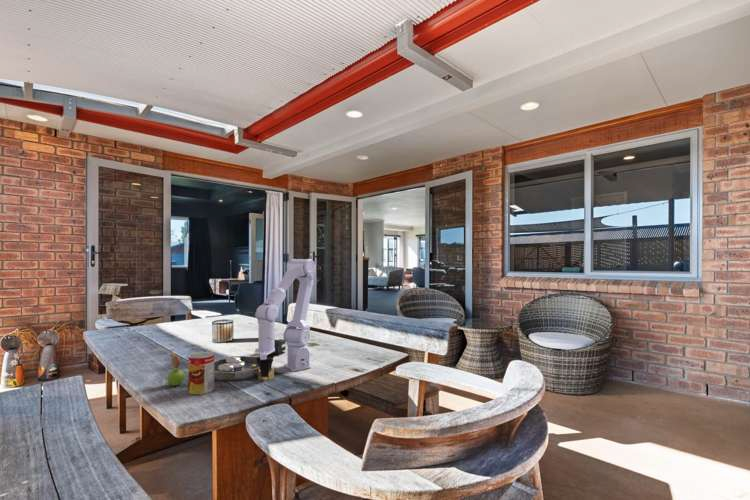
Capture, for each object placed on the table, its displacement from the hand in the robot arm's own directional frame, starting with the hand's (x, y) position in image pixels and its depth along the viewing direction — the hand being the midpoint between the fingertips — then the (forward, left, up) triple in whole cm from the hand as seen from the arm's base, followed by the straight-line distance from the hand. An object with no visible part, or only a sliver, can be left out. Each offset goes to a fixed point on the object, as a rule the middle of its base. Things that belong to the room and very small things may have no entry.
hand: (266, 374), depth 134 cm
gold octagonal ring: (0, 0, -1) cm, 1 cm away
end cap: (+31, -15, -2) cm, 34 cm away
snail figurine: (+12, +28, -2) cm, 31 cm away
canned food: (+1, +22, -2) cm, 22 cm away
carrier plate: (+14, +6, -1) cm, 15 cm away
